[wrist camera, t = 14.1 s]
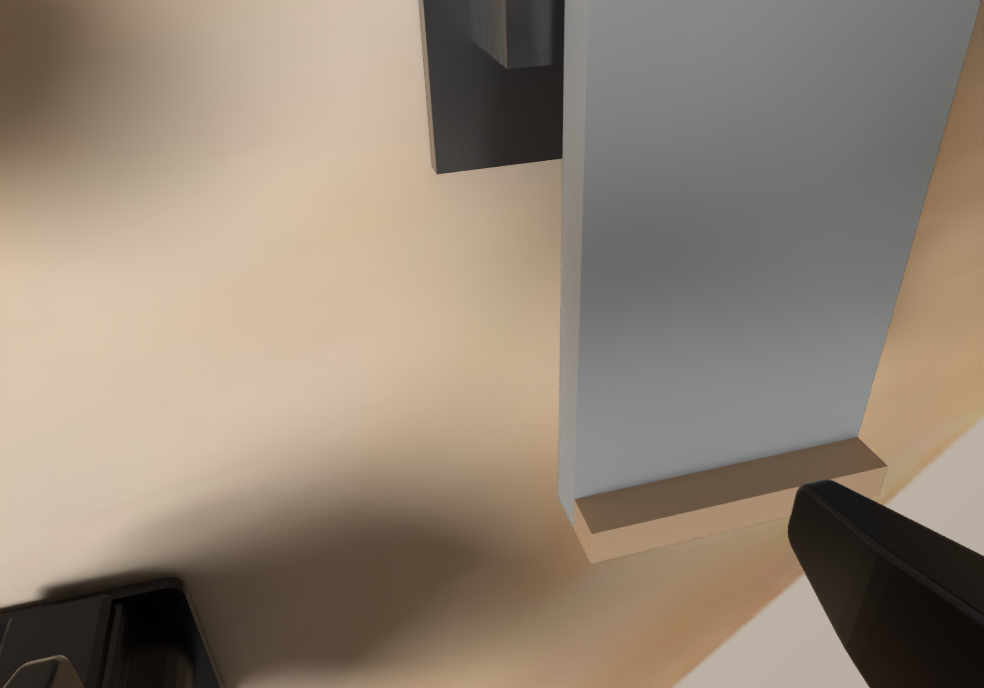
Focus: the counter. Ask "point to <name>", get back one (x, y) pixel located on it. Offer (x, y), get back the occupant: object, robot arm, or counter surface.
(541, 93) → the pivot stand
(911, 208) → the beam
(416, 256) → the counter surface
